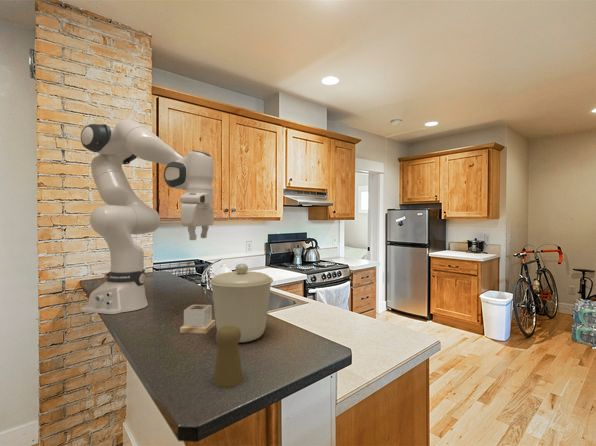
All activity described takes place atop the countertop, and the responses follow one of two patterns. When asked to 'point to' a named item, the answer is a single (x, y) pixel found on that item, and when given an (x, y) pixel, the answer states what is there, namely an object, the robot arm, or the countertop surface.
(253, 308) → the canister
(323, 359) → the countertop surface
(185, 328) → the base plate
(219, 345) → the olive pepper mill
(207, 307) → the white hollow square block
